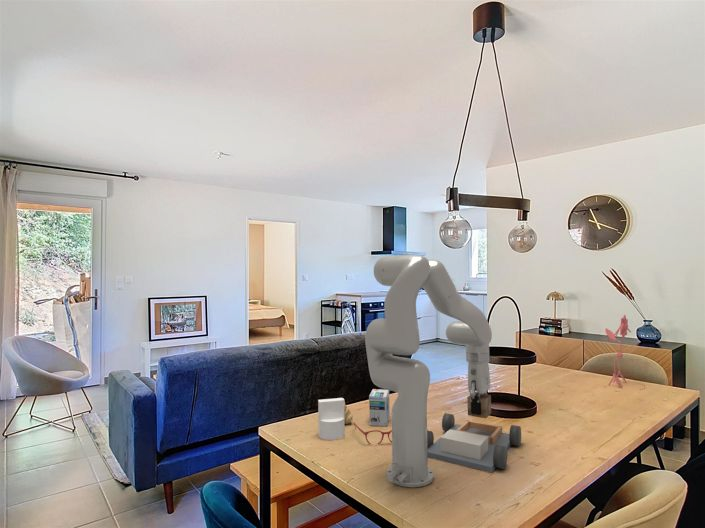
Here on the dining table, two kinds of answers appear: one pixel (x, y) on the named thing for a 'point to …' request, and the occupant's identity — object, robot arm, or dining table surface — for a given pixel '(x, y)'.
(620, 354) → the pink coral sprig
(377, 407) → the light bulb box
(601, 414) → the dining table surface
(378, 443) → the red eyeglasses
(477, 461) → the toy car chassis
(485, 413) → the brown rectangular block
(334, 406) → the cylinder with rectangular tab
